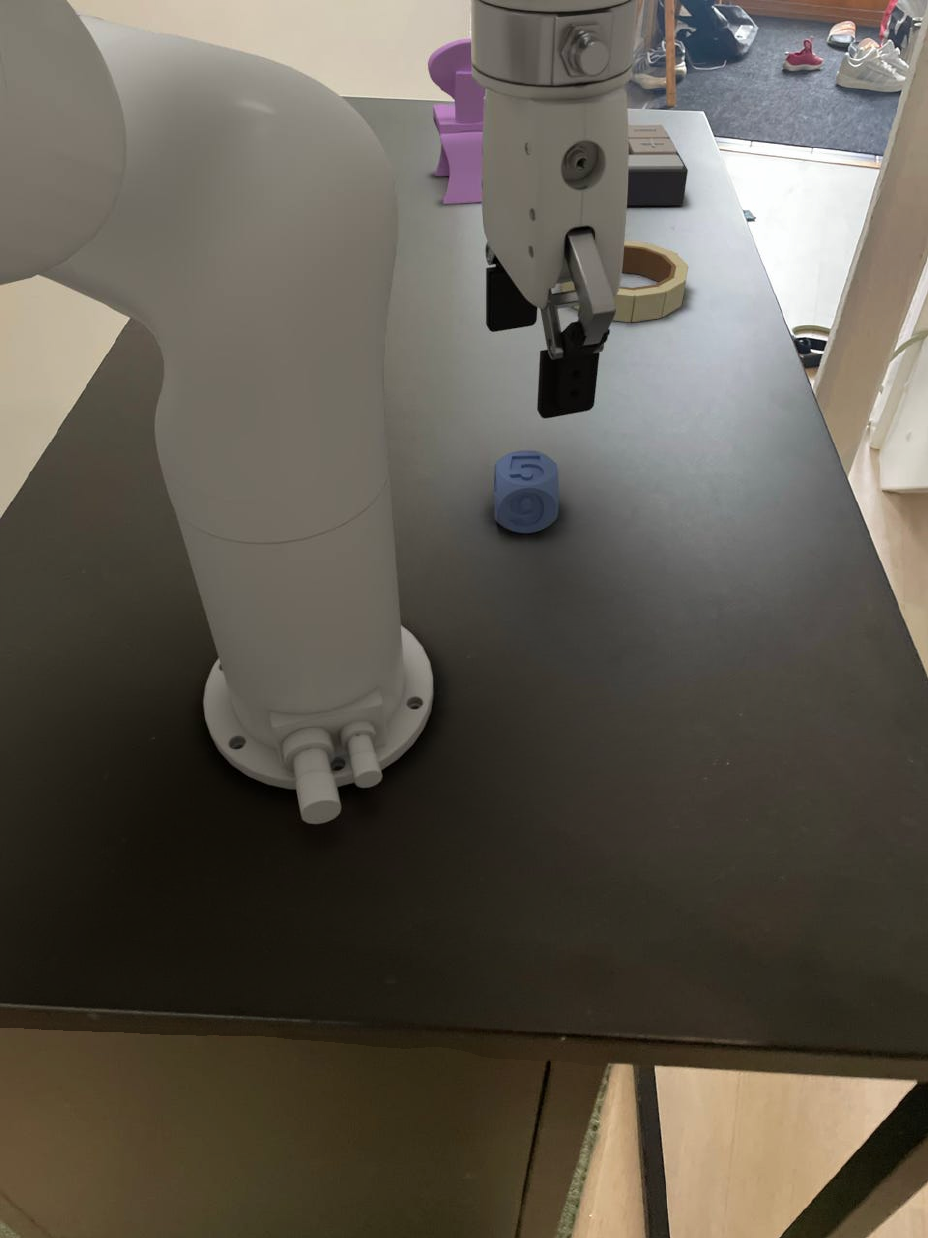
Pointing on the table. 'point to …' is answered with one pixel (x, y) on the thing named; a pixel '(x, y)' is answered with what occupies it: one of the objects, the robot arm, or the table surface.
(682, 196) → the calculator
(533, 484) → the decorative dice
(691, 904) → the table surface
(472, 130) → the toy chair
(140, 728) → the table surface
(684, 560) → the table surface
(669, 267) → the tape roll
